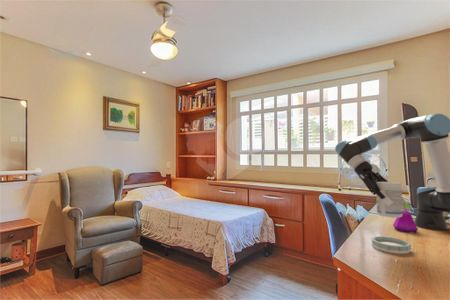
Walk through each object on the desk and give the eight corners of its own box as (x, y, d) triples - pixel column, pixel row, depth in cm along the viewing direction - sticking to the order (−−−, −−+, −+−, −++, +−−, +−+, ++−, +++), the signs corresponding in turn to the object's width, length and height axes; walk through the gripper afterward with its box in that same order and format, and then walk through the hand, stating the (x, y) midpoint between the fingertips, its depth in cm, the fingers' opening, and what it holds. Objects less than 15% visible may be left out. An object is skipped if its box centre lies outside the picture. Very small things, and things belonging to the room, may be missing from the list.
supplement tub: (406, 216, 108) (405, 182, 109) (396, 219, 103) (395, 183, 103) (382, 212, 116) (382, 181, 117) (372, 214, 111) (371, 182, 112)
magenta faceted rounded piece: (418, 234, 129) (417, 205, 130) (393, 231, 135) (392, 203, 136) (416, 229, 139) (415, 202, 139) (392, 226, 145) (391, 200, 145)
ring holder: (392, 242, 116) (392, 235, 117) (419, 253, 103) (418, 245, 103) (365, 243, 115) (364, 236, 115) (388, 254, 101) (388, 247, 101)
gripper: (367, 170, 129) (402, 206, 115) (341, 171, 118) (376, 211, 104) (378, 160, 125) (415, 196, 110) (351, 160, 114) (389, 200, 99)
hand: (396, 203), depth 107 cm, fingers closed on supplement tub, 9 cm apart
